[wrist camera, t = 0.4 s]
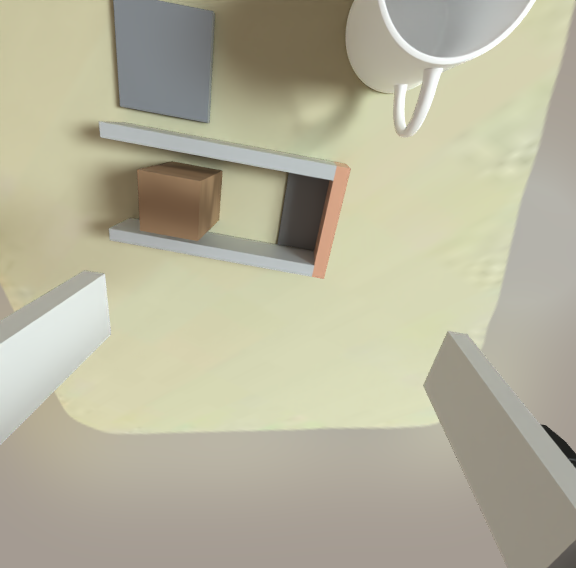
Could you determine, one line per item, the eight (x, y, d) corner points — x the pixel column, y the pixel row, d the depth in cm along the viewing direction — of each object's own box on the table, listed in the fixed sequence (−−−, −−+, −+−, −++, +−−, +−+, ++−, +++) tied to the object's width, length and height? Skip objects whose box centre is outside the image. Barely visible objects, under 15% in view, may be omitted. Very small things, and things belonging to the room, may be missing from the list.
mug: (423, 140, 29) (491, 147, 18) (330, 128, 29) (342, 128, 18) (471, -33, 23) (608, -171, 13) (357, -47, 23) (397, -195, 13)
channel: (124, 122, 29) (98, 121, 26) (345, 163, 30) (350, 168, 26) (130, 228, 34) (109, 240, 31) (322, 263, 34) (323, 278, 31)
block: (172, 161, 31) (137, 169, 25) (222, 170, 31) (200, 181, 25) (172, 211, 33) (139, 230, 27) (219, 219, 33) (197, 241, 27)
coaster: (117, -6, 25) (112, -9, 25) (214, 13, 26) (212, 11, 25) (123, 106, 29) (120, 106, 28) (209, 122, 29) (207, 122, 29)
